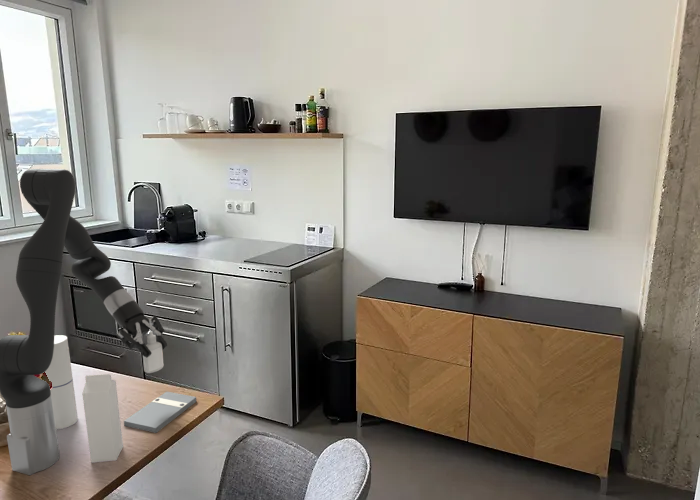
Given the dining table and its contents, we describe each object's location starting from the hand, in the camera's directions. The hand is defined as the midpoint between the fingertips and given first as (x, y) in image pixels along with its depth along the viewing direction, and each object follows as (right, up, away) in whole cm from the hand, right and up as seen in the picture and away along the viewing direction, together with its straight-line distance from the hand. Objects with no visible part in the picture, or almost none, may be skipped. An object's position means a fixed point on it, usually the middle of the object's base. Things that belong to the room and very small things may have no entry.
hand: (157, 351), depth 145 cm
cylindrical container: (-25, -20, -4) cm, 32 cm away
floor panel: (+1, -18, 0) cm, 18 cm away
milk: (-5, -23, -19) cm, 30 cm away
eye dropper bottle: (-2, -6, +2) cm, 7 cm away
